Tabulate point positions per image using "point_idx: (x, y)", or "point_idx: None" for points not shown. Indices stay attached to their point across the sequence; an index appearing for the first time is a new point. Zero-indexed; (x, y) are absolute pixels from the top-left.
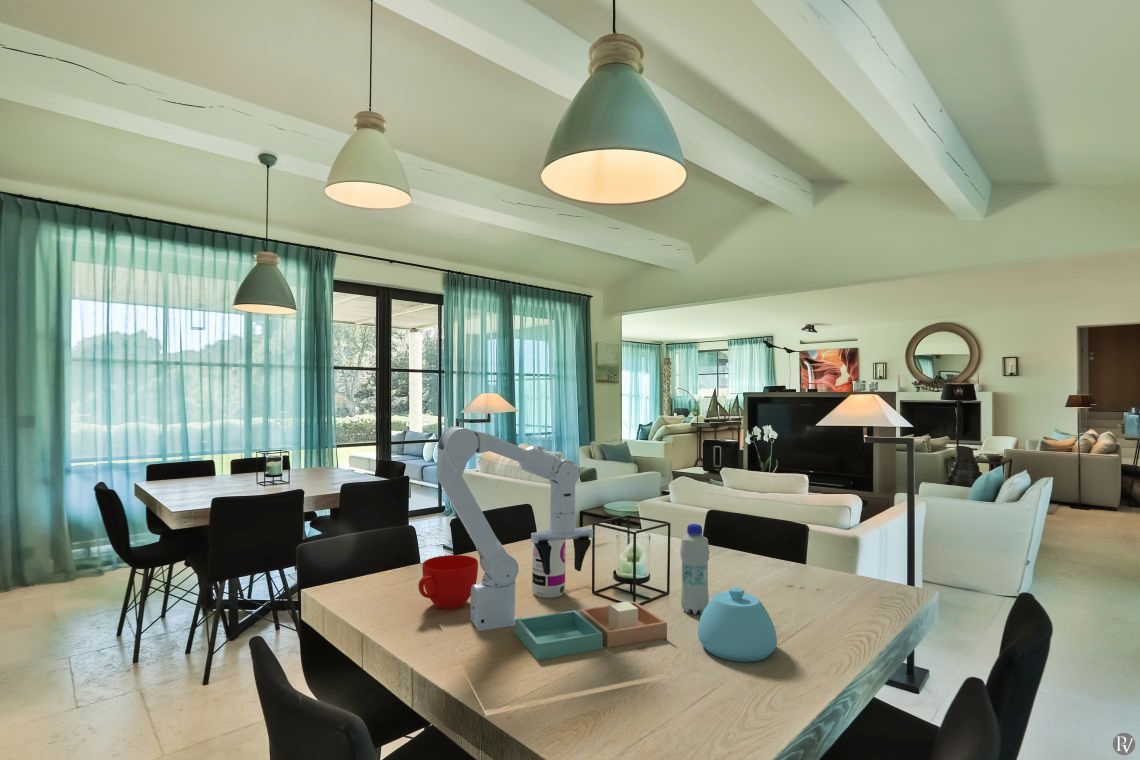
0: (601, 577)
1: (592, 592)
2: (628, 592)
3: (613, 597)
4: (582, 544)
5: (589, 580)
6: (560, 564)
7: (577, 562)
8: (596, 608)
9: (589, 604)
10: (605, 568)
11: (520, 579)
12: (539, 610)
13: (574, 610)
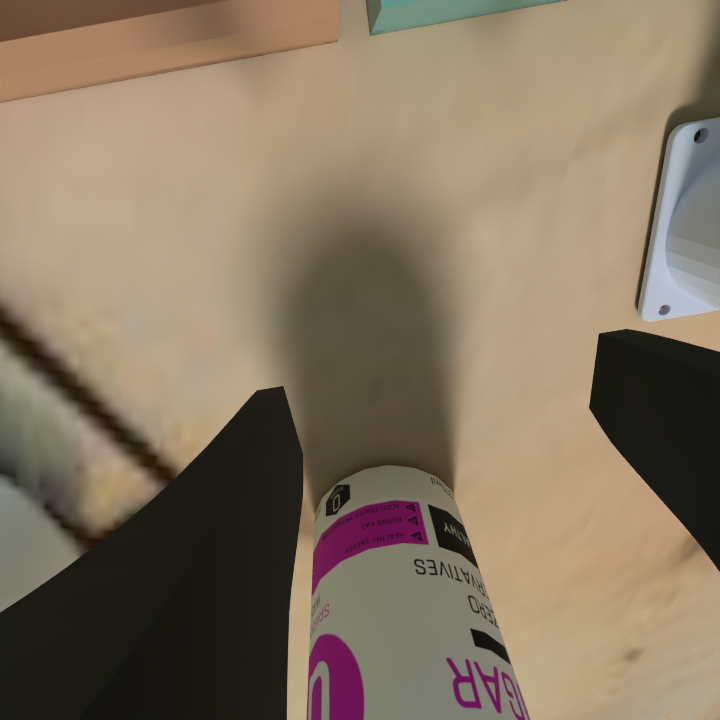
0: None
1: None
2: (9, 478)
3: (89, 433)
4: (87, 693)
5: None
6: (354, 615)
7: (278, 463)
8: (196, 7)
9: (224, 369)
10: None
11: None
12: (486, 339)
13: (390, 4)
